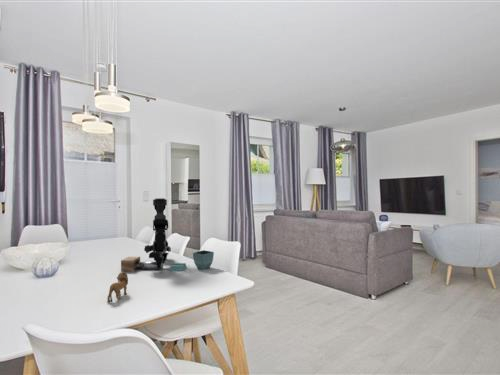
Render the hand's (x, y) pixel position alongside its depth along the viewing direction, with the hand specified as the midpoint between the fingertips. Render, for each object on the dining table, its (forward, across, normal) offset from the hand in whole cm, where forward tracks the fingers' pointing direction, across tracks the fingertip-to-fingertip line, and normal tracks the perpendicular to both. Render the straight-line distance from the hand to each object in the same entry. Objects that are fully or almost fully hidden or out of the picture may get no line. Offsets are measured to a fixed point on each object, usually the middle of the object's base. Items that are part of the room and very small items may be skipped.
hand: (160, 267), depth 164 cm
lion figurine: (+1, +43, -2) cm, 43 cm away
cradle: (+1, 0, +10) cm, 10 cm away
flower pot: (+1, -2, +24) cm, 24 cm away
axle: (+1, 0, -6) cm, 6 cm away
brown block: (+1, 0, -17) cm, 17 cm away
